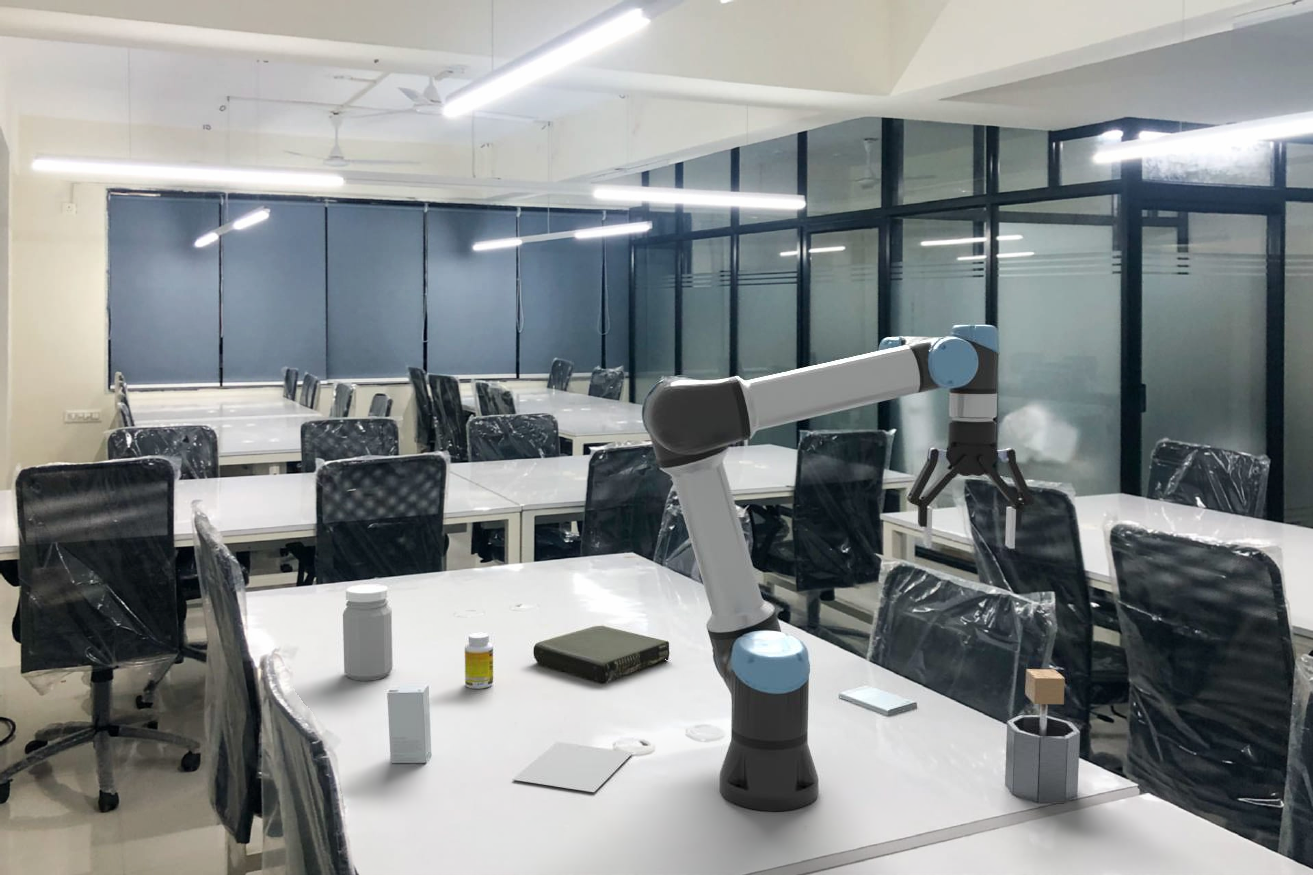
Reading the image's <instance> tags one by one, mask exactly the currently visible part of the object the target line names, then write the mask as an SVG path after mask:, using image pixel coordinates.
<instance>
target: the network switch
mask: <svg viewBox="0 0 1313 875" xmlns="http://www.w3.org/2000/svg"><path fill="white" fill-rule="evenodd" d="M532 651H533V652H532V654H533V657H534V659H535V661H536V663H537V664H538V665H541V666H544V667H545V668H546V667H547V668H549V669H553V670H557V671H561V672H564V673H567V674H570V675H573V676H576V677H579V678H582V679H585V680H587V681H591V682H594V683H597V682H598V683H597V684H602V685H605V684H608V682H611V681H613V680H614V679H616V678H618V679H620V678H621V677H622V676H625V675H630V674H631V673H634V672H637V671H639V670H640V671H642V670H643V669H644V668H647V667H650V666H652V665H655V664H656V663H657V664H658V663H660V662H662V661H665V659H666V660H668V661H669V658H670V641H668V640H665V639H664V640H663V639H659V638H655V637H651V636H647V635H643V634H638V633H634V632H630V631H626V630H622V629H617V628H614V627H613V628H612V627H610V626H605V625H595V626H591V627H588V628H583V629H579V630H576V631H573V632H570V633H566V634H563V635H558V636H555V637H551V638H548V639H545V640H542V641H539V642H536V643H535V644H534V646H533V650H532Z"/></svg>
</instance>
